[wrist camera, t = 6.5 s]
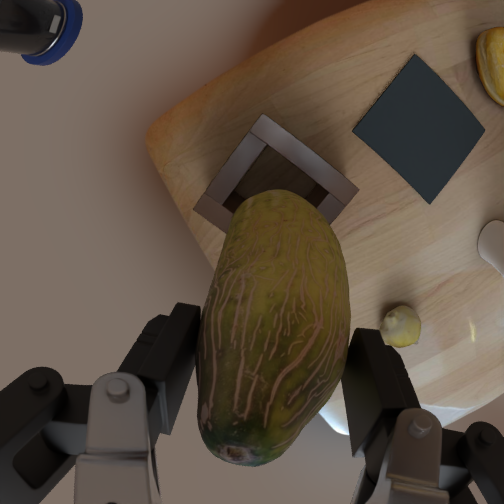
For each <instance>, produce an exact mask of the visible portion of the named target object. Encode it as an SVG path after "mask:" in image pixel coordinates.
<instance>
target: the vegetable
mask: <svg viewBox="0 0 504 504" xmlns="http://www.w3.org/2000/svg"><path fill="white" fill-rule="evenodd" d="M350 321H351V310H350V302H349V284H348V277H347V271H346V265H345V260H344V257H343V254H342V250H341V247H340V244H339V241H338V239H337V237H336V235H335V234H334V232H333V230H332V228H331V226H330V225H329V223H328V221H327V220H326V219H325V217H324V216H323V215H322V214H321V213H320V212H319V211H318V210H317V209H316V208H315V207H314V206H313V205H312V204H310V203H309V202H308V201H307V200H305V199H304V198H302V197H300V196H299V195H297V194H295V193H292V192H290V191H287V190H282V189H275V190H269V191H265V192H262V193H260V194H257V195H254V196H252V197H250V198H248V199H247V200H245V201H244V202H243V203H242V204H241V205H240V206H239V207H238V209H237V210H236V211H235V213H234V215H233V216H232V218H231V221H230V225H229V230H228V232H227V234H226V238H225V241H224V245H223V249H222V252H221V255H220V258H219V261H218V265H217V268H216V271H215V274H214V278H213V280H212V283H211V286H210V290H209V294H208V296H207V299H206V302H205V306H204V308H203V311H202V315H201V320H200V326H199V331H198V337H197V342H196V350H195V366H196V377H197V385H198V409H197V419H198V426H199V430H200V433H201V437H202V439H203V441H204V443H205V445H206V447H207V448H208V449H209V451H210V452H211V453H212V454H213V455H215V456H216V457H218V458H220V459H222V460H224V461H226V462H229V463H232V464H236V465H242V466H254V467H256V466H260V465H264V464H266V463H268V462H271V461H272V460H275V459H276V458H278V457H280V456H281V455H282V454H283V453H284V452H285V451H286V450H287V449H288V448H289V447H290V446H291V444H292V443H293V442H294V441H295V439H296V438H297V437H298V436H299V434H300V432H301V430H302V429H303V428H304V427H305V425H307V423H309V422H310V421H311V419H312V418H313V417H314V416H315V415H316V414H317V413H318V412H319V411H320V409H321V408H322V407H323V406H324V405H325V404H326V402H327V401H328V400H329V399H330V397H331V395H332V394H333V392H334V390H335V388H336V387H337V385H338V383H339V381H340V379H341V377H342V374H343V371H344V368H345V364H346V359H347V355H348V344H349V335H350Z"/></svg>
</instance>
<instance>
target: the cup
mask: <svg viewBox="0 0 504 504" xmlns="http://www.w3.org/2000/svg"><path fill="white" fill-rule="evenodd" d="M478 252H479V255H480V256H481V258H482V259H484V260H485V261H487V262H488V263H490V264H492V265H493V266H494V267H495V268H496V269H497V270H498V271H499V272H500V274H501V275H502V276H503V278H504V223H503V222H502V221H499V220H494V221H492V222H490V223H488V224H487V225H486V226H485V227H484V228H483V230H482V232H481V233H480V236H479V239H478Z"/></svg>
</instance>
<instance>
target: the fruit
mask: <svg viewBox="0 0 504 504" xmlns="http://www.w3.org/2000/svg"><path fill="white" fill-rule="evenodd" d="M420 330H421V321H420V318H419V316H418V315H417V313H416V312H415V311H414V310H412V309H411V308H409V307H407V306H398V307H396V308H395V309H393V310H392V311H390V312H388V313H387V315H386V316H385V318H384V319H383V322H382V324H381V326H380V333H381V336H382V338H383V340H384V341H385V342H386V343H387V344H389V345H391V346H394V347H397V348H402V347H406V346H409V345H411V344H418V341H417V340H418V338H419V336H420Z"/></svg>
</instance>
